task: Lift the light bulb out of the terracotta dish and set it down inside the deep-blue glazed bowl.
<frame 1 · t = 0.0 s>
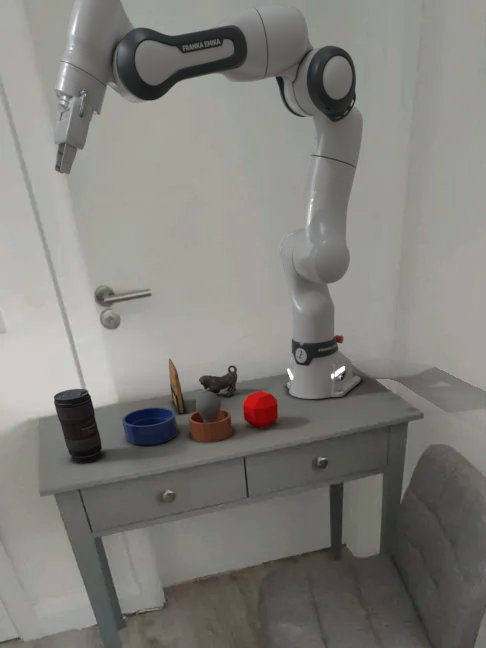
hand: (61, 172, 123), 54 cm above the table, tool tilted 30°, fingers open, 8 cm apart
terracotta dish: (211, 433, 150), on the table
blue bowl: (152, 436, 151), on the table
dog figurine: (219, 396, 173), on the table
ammunition clip: (179, 408, 167), on the table
light bulb: (211, 433, 150), resting on terracotta dish
camera lens: (87, 457, 143), on the table
ball: (261, 425, 153), on the table
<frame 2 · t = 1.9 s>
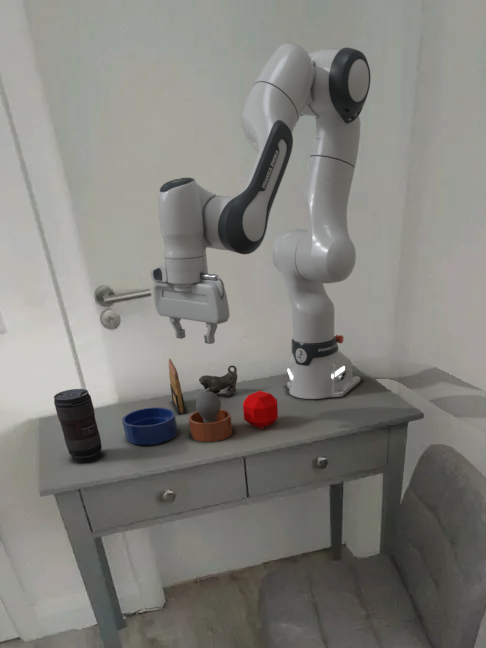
hand: (195, 340, 137), 22 cm above the table, tool pointing down, fingers open, 8 cm apart
nothing on the table moved.
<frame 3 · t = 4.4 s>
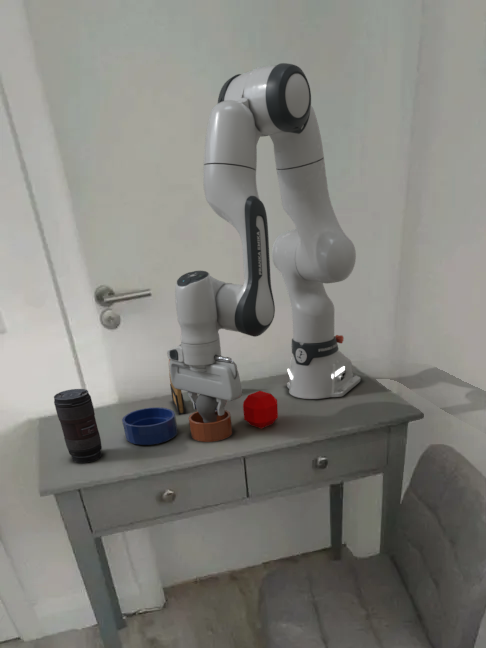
hand: (208, 412, 147), 5 cm above the table, tool pointing down, fingers closed on light bulb, 6 cm apart
light bulb: (211, 433, 150), resting on terracotta dish, touching gripper
everything else where it was.
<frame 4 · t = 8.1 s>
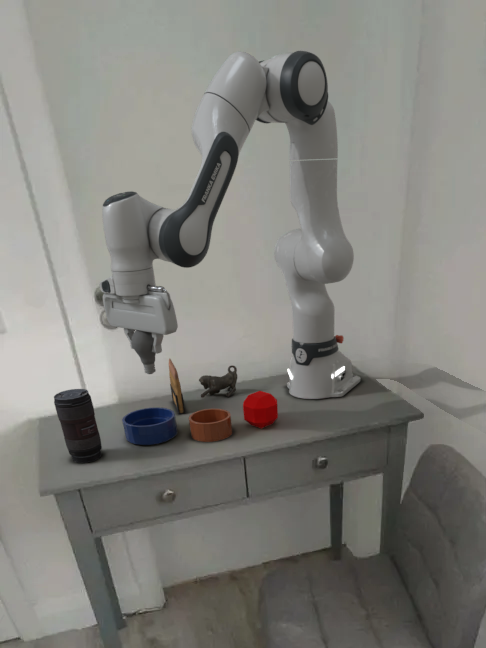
hand: (146, 350, 139), 20 cm above the table, tool pointing down, fingers closed on light bulb, 6 cm apart
light bulb: (150, 374, 142), point 15 cm above the table, touching gripper
everything else where it was.
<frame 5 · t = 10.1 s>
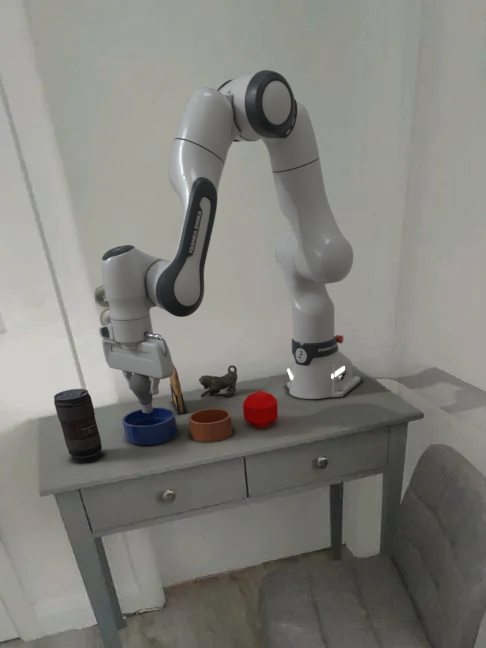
hand: (144, 391, 144), 11 cm above the table, tool pointing down, fingers closed on light bulb, 6 cm apart
light bulb: (148, 413, 148), point 6 cm above the table, touching gripper
everything else where it was.
when the fingers open (6 cm above the table, at t = 12.0 s): light bulb stays where it is, resting on blue bowl.
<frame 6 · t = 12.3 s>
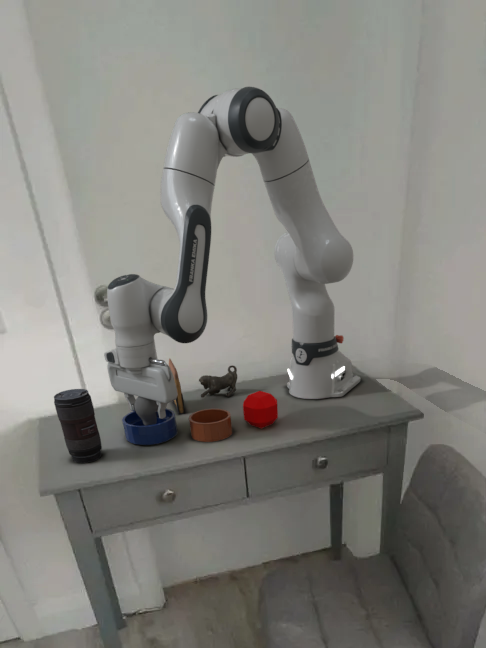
hand: (148, 414, 148), 6 cm above the table, tool pointing down, fingers open, 8 cm apart
light bulb: (152, 435, 151), resting on blue bowl
everything else where it was.
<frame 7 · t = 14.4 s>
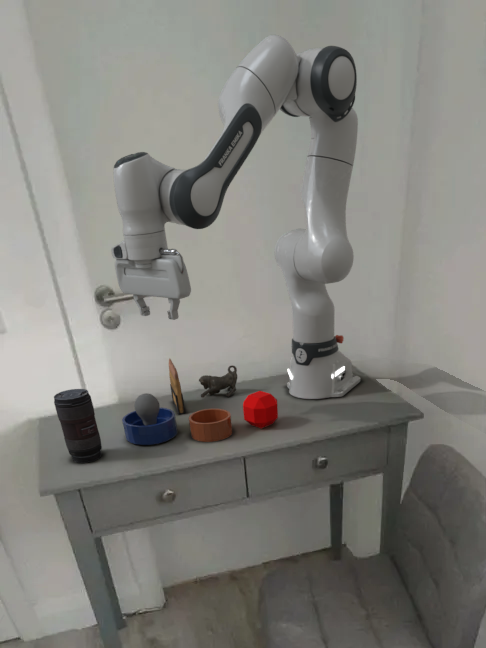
hand: (159, 317, 138), 26 cm above the table, tool pointing down, fingers open, 8 cm apart
nothing on the table moved.
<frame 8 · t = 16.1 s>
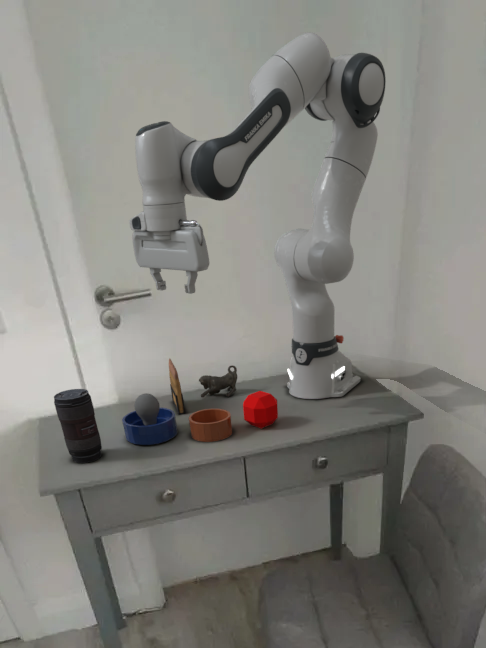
hand: (175, 291, 137), 31 cm above the table, tool pointing down, fingers open, 8 cm apart
nothing on the table moved.
at the end: light bulb inside the target area in the blue bowl (0.1 cm from its centre), point 0.3 cm above the blue bowl's base; the gripper is holding nothing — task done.
